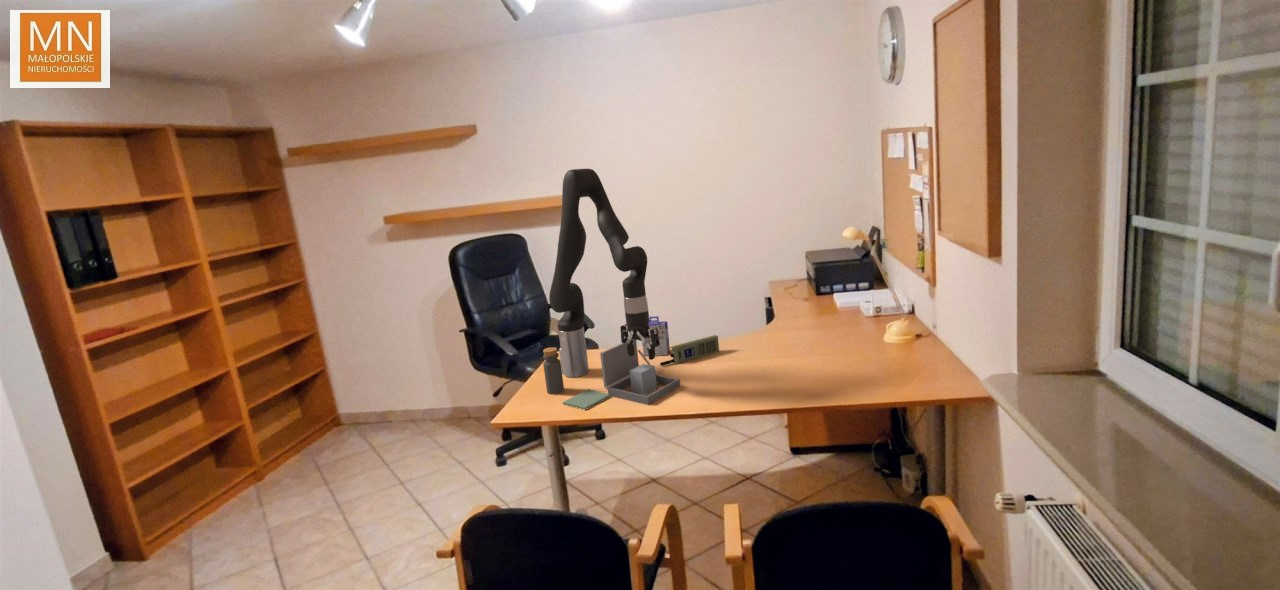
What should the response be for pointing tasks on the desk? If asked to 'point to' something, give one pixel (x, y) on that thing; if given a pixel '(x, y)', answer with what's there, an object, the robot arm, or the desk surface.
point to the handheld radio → (693, 350)
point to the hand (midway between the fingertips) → (641, 357)
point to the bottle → (553, 371)
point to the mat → (586, 399)
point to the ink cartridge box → (663, 337)
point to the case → (618, 375)
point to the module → (643, 379)
